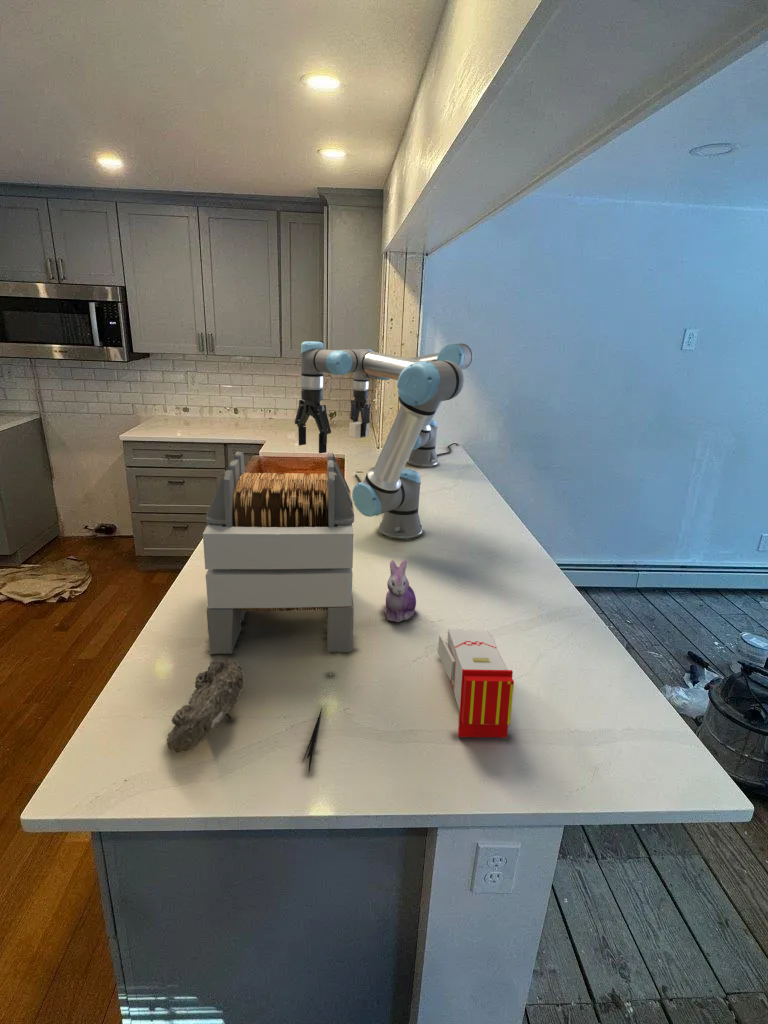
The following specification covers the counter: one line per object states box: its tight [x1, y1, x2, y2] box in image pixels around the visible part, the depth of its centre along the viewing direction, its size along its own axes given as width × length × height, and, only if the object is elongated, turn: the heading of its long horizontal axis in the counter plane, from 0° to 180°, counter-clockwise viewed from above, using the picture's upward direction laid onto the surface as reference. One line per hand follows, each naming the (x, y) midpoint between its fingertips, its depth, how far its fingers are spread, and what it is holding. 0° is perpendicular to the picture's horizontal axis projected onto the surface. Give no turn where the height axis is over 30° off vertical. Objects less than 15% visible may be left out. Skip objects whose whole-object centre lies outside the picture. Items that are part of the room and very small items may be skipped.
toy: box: [437, 628, 515, 738], centre depth 117 cm, size 12×13×30 cm
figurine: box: [384, 558, 417, 623], centre depth 145 cm, size 9×10×15 cm
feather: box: [301, 673, 332, 771], centre depth 108 cm, size 2×28×2 cm
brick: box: [348, 420, 371, 439], centre depth 289 cm, size 9×5×7 cm, turn 130°
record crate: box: [202, 451, 355, 655], centre depth 137 cm, size 34×33×41 cm
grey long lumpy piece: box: [166, 658, 245, 754], centre depth 106 cm, size 22×10×15 cm
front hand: (312, 448), depth 202 cm, fingers open, 13 cm apart
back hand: (359, 435), depth 290 cm, fingers closed on brick, 5 cm apart
